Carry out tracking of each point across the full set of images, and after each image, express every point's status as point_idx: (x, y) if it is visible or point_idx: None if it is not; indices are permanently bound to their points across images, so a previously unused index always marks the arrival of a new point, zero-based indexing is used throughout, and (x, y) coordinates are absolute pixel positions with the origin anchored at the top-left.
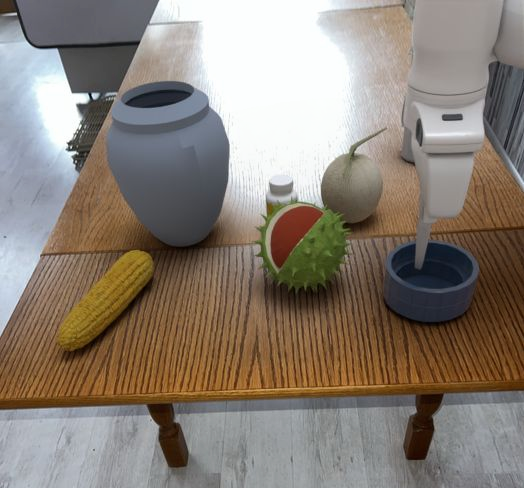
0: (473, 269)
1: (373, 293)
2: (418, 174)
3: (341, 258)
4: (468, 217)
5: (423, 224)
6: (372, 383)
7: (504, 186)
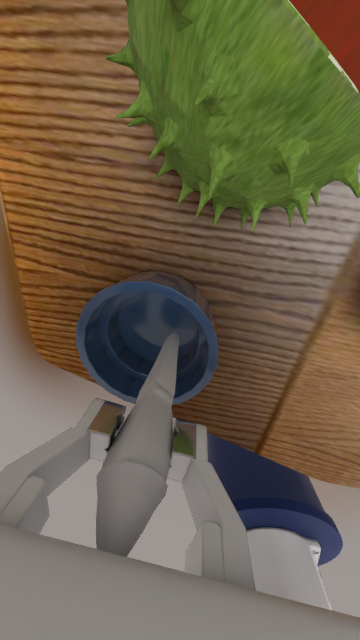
0: (125, 395)
1: (183, 262)
2: (82, 617)
3: (186, 185)
4: (303, 427)
5: (144, 390)
6: (6, 207)
7: (345, 479)
